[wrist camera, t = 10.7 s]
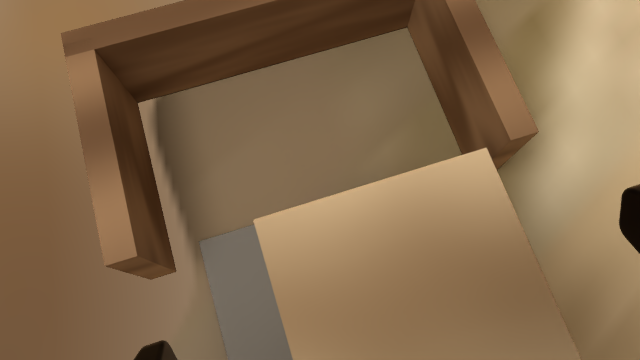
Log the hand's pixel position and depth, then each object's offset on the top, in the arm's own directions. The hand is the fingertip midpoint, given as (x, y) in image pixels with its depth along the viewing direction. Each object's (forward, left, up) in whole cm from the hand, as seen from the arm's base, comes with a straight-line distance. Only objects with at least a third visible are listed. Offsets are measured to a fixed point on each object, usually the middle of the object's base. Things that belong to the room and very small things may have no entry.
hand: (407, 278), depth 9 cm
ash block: (0, 0, -13) cm, 13 cm away
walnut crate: (+8, +4, -13) cm, 16 cm away
